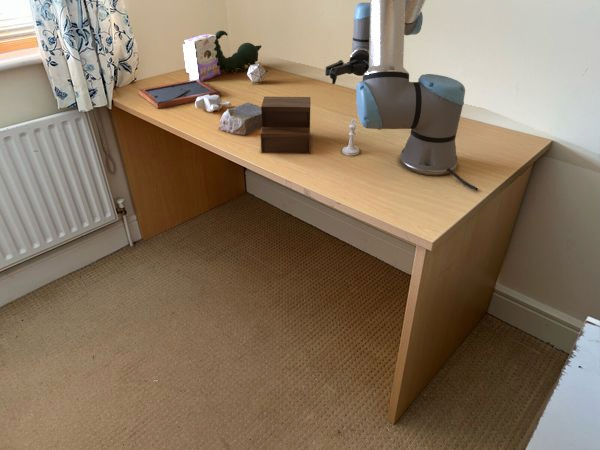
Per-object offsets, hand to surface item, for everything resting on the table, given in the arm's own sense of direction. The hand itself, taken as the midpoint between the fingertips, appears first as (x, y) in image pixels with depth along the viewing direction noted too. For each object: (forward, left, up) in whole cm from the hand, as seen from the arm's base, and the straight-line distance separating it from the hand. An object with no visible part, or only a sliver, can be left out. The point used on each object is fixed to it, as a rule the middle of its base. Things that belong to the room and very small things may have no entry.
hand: (357, 80), depth 124 cm
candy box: (+84, +21, -18) cm, 89 cm away
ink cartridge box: (+94, +21, -18) cm, 98 cm away
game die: (+67, +4, -18) cm, 70 cm away
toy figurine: (+88, +4, -18) cm, 90 cm away
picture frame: (+66, +37, -18) cm, 78 cm away
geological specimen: (+24, +26, -18) cm, 40 cm away
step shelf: (+6, +20, -18) cm, 27 cm away
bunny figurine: (+44, +31, -18) cm, 57 cm away
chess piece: (-8, +6, -18) cm, 21 cm away
